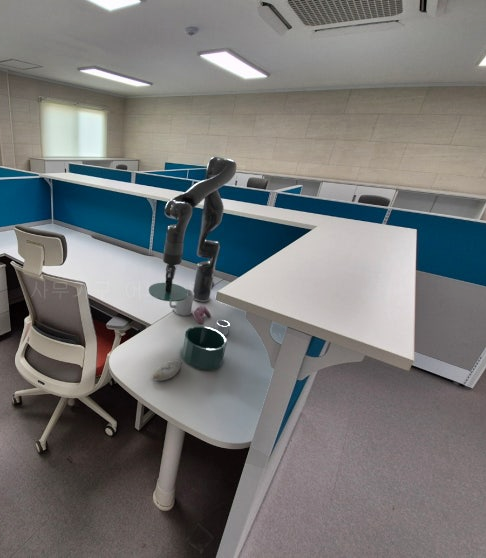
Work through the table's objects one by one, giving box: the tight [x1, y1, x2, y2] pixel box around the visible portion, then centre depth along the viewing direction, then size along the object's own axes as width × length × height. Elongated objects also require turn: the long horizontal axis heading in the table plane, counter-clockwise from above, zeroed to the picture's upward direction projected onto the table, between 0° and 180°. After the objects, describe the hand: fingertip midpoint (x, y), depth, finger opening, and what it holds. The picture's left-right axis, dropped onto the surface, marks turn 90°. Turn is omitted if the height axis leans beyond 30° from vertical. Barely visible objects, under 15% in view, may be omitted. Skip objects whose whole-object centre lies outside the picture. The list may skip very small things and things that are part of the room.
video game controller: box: [193, 305, 212, 325], centre depth 147 cm, size 10×5×7 cm, turn 141°
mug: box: [168, 288, 194, 317], centre depth 151 cm, size 12×8×11 cm
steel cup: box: [214, 319, 230, 337], centre depth 137 cm, size 6×6×5 cm
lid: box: [148, 279, 188, 303], centre depth 128 cm, size 17×17×6 cm
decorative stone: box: [152, 359, 183, 382], centre depth 111 cm, size 6×16×3 cm, turn 133°
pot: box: [181, 325, 228, 371], centre depth 119 cm, size 16×16×10 cm
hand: (168, 289), depth 129 cm, fingers closed on lid, 2 cm apart
